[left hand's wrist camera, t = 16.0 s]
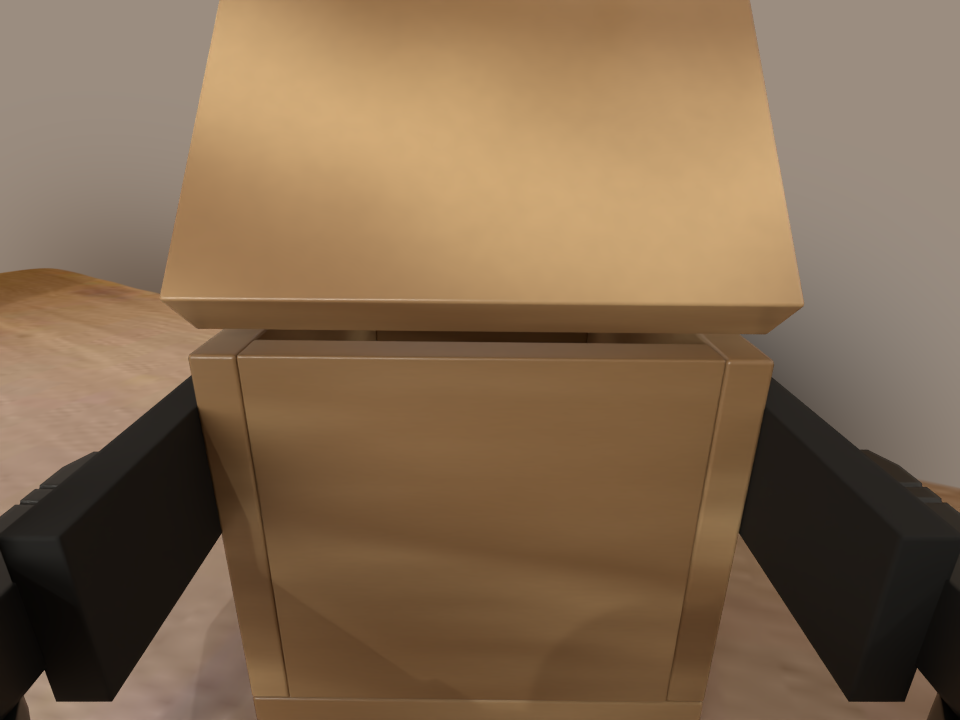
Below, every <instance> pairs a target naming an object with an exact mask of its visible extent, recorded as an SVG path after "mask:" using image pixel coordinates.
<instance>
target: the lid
mask: <svg viewBox="0 0 960 720" xmlns="http://www.w3.org/2000/svg"><path fill="white" fill-rule="evenodd" d="M160 300H161V301H162V302H163V303H165V304H166V305H167V306H169V307H170V308H171V309H172V310H174V311H175V312H176V313H178V314H179V315H180V316H181V317H183V318H184V319H185V320H187V321H188V322H189V323H190V324H192V325H193V326H194V327H196V328H198V329H280V330H381V331H482V332H584V333H685V334H767V333H769V332H770V331H771V330H773V329H774V328H775V327H777V326H778V325H779V324H781V323H782V322H783V321H785V320H786V319H787V318H789V317H790V316H791V315H793V314H794V313H795V312H797V311H798V310H799V309H801V308H802V307H803V306H804V300H803V294H802V288H801V283H800V277H799V272H798V266H797V261H796V255H795V249H794V244H793V238H792V233H791V227H790V222H789V216H788V210H787V205H786V199H785V194H784V188H783V183H782V177H781V171H780V166H779V160H778V155H777V149H776V144H775V138H774V132H773V127H772V121H771V116H770V110H769V105H768V99H767V93H766V88H765V82H764V77H763V71H762V66H761V60H760V54H759V49H758V43H757V38H756V32H755V27H754V21H753V16H752V10H751V4H750V0H219V5H218V10H217V15H216V20H215V25H214V30H213V35H212V40H211V45H210V50H209V55H208V60H207V65H206V70H205V75H204V80H203V85H202V90H201V95H200V100H199V105H198V110H197V115H196V120H195V125H194V130H193V135H192V140H191V145H190V149H189V154H188V160H187V164H186V169H185V174H184V179H183V184H182V189H181V194H180V199H179V204H178V209H177V214H176V219H175V224H174V229H173V234H172V239H171V244H170V249H169V254H168V259H167V264H166V269H165V274H164V279H163V284H162V289H161V294H160Z"/></svg>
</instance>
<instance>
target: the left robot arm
mask: <svg viewBox="0 0 960 720" xmlns="http://www.w3.org/2000/svg"><path fill="white" fill-rule="evenodd" d="M221 533H222V530H221V525H220V519H219V514H218V509H217V504H216V499H215V494H214V489H213V484H212V479H211V474H210V469H209V464H208V459H207V454H206V448H205V443H204V438H203V433H202V427H201V422H200V417H199V412H198V406H197V401H196V396H195V391H194V385H193V380H192V375H191V376H190V377H189V378H188V379H186V380H185V381H184V382H183V383H181V384H180V385H179V386H178V387H177V388H175V389H174V390H173V391H172V392H171V393H169V394H168V395H167V396H166V397H165V398H163V399H162V400H161V401H160V402H158V403H157V404H156V405H155V406H154V407H152V408H151V409H150V410H149V411H148V412H146V413H145V414H144V415H143V416H142V417H140V418H139V419H138V420H137V421H135V422H134V423H133V424H132V425H131V426H129V427H128V428H127V429H126V430H125V431H123V432H122V433H121V434H120V435H119V436H117V437H116V438H115V439H114V440H112V441H111V442H110V443H109V444H108V445H106V446H105V447H104V448H103V449H102V450H100V451H99V452H92V453H90V454H88V455H86V456H84V457H82V458H80V459H78V460H76V461H74V462H72V463H70V464H68V465H66V466H64V467H62V468H61V469H60V470H59V471H57V472H56V473H55V474H54V475H52V476H51V477H50V478H48V479H47V480H46V481H45V482H43V483H42V484H41V485H40V488H39V489H35V490H33V491H32V492H31V493H30V494H28V495H27V496H26V497H24V498H23V499H22V500H21V501H20V505H14V506H13V507H12V508H11V509H9V510H8V511H7V512H5V513H4V514H3V515H2V516H0V720H30V715H29V709H28V705H27V703H26V700H25V698H24V694H25V693H26V692H27V691H28V689H29V688H30V687H31V686H32V685H33V683H34V682H35V681H36V680H37V678H38V677H39V676H40V675H41V674H42V672H43V671H44V670H45V672H46V675H47V678H48V680H49V683H50V686H51V689H52V691H53V694H54V697H55V699H56V702H112V701H113V699H114V698H115V696H116V695H117V693H118V691H119V690H120V688H121V687H122V685H123V684H124V682H125V681H126V679H127V678H128V676H129V675H130V673H131V671H132V670H133V668H134V667H135V665H136V664H137V662H138V661H139V659H140V658H141V656H142V655H143V653H144V652H145V650H146V648H147V647H148V645H149V644H150V642H151V641H152V639H153V638H154V636H155V635H156V633H157V632H158V630H159V629H160V627H161V625H162V624H163V622H164V621H165V619H166V618H167V616H168V615H169V613H170V612H171V610H172V609H173V607H174V606H175V604H176V602H177V601H178V599H179V598H180V596H181V595H182V593H183V592H184V590H185V589H186V587H187V586H188V584H189V582H190V581H191V579H192V578H193V576H194V575H195V573H196V572H197V570H198V569H199V567H200V566H201V564H202V563H203V561H204V559H205V558H206V556H207V555H208V553H209V552H210V550H211V549H212V547H213V546H214V544H215V543H216V541H217V540H218V538H219V536H220V535H221ZM739 534H740V535H741V537H742V538H743V540H744V541H745V543H746V545H747V546H748V548H749V549H750V551H751V552H752V554H753V555H754V557H755V558H756V560H757V561H758V563H759V565H760V566H761V568H762V569H763V571H764V572H765V574H766V575H767V577H768V578H769V580H770V581H771V583H772V584H773V586H774V588H775V589H776V591H777V592H778V594H779V595H780V597H781V598H782V600H783V601H784V603H785V604H786V606H787V607H788V609H789V611H790V612H791V614H792V615H793V617H794V618H795V620H796V621H797V623H798V624H799V626H800V627H801V629H802V630H803V632H804V634H805V635H806V637H807V638H808V640H809V641H810V643H811V644H812V646H813V647H814V649H815V650H816V652H817V653H818V655H819V657H820V658H821V660H822V661H823V663H824V664H825V666H826V667H827V669H828V670H829V672H830V673H831V675H832V677H833V678H834V680H835V681H836V683H837V684H838V686H839V687H840V689H841V690H842V692H843V693H844V695H845V696H846V698H847V700H848V701H849V702H905V699H906V696H907V694H908V691H909V688H910V686H911V683H912V680H913V678H914V675H915V672H916V669H917V668H918V669H919V670H920V672H921V673H922V674H923V675H924V677H925V678H926V679H927V680H928V681H929V683H930V684H931V685H932V686H933V688H934V689H935V690H936V691H937V692H938V693H937V695H936V698H935V700H934V703H933V705H932V708H931V710H930V713H929V715H928V718H927V720H960V513H959V512H958V511H957V510H955V509H954V508H953V507H951V506H950V505H949V504H948V503H942V501H941V498H940V497H939V496H937V495H936V494H935V493H934V492H932V491H931V490H930V489H929V488H927V487H922V483H921V482H920V481H918V480H917V479H916V478H914V477H913V476H912V475H911V474H909V473H908V472H907V471H906V470H904V469H903V468H902V467H900V466H899V465H897V464H895V463H893V462H891V461H889V460H887V459H885V458H883V457H881V456H879V455H877V454H875V453H873V452H871V451H869V450H859V449H858V448H857V447H856V446H854V445H853V444H852V443H851V442H849V441H848V440H847V439H846V438H845V437H843V436H842V435H841V434H840V433H838V432H837V431H836V430H835V429H834V428H833V427H831V426H830V425H829V424H828V423H827V422H825V421H824V420H823V419H822V418H820V417H819V416H818V415H817V414H816V413H814V412H813V411H812V410H811V409H810V408H808V407H807V406H806V405H805V404H804V403H802V402H801V401H800V400H799V399H797V398H796V397H795V396H794V395H793V394H791V393H790V392H789V391H788V390H787V389H785V388H784V387H783V386H782V385H781V384H779V383H778V382H777V381H776V380H774V379H773V378H772V377H771V381H770V386H769V391H768V396H767V400H766V405H765V410H764V415H763V419H762V424H761V429H760V434H759V438H758V443H757V448H756V453H755V457H754V462H753V467H752V472H751V477H750V481H749V486H748V491H747V496H746V500H745V505H744V510H743V515H742V519H741V524H740V529H739Z"/></svg>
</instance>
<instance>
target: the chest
mask: <svg viewBox="0 0 960 720" xmlns="http://www.w3.org/2000/svg"><path fill="white" fill-rule="evenodd" d="M188 359H189V364H190V370H191V375H192V380H193V385H194V391H195V396H196V401H197V406H198V412H199V417H200V422H201V427H202V433H203V438H204V443H205V448H206V454H207V459H208V464H209V469H210V474H211V479H212V484H213V489H214V494H215V499H216V504H217V509H218V514H219V519H220V525H221V530H222V538H223V543H224V548H225V554H226V559H227V564H228V569H229V575H230V580H231V585H232V590H233V596H234V601H235V606H236V611H237V617H238V622H239V627H240V632H241V638H242V643H243V648H244V653H245V659H246V664H247V669H248V674H249V680H250V685H251V690H252V695H253V696H254V697H253V699H254V705H255V710H256V715H257V720H699V719H700V715H701V710H702V705H703V702H702V701H703V700H704V695H705V691H706V686H707V681H708V676H709V672H710V667H711V662H712V657H713V653H714V648H715V643H716V638H717V634H718V629H719V624H720V619H721V615H722V610H723V605H724V600H725V596H726V591H727V586H728V581H729V576H730V572H731V567H732V562H733V557H734V553H735V548H736V543H737V538H738V534H739V529H740V524H741V519H742V515H743V510H744V505H745V500H746V496H747V491H748V486H749V481H750V477H751V472H752V467H753V462H754V457H755V453H756V448H757V443H758V438H759V434H760V429H761V424H762V419H763V415H764V410H765V405H766V400H767V396H768V391H769V386H770V381H771V377H772V372H773V367H774V362H773V360H772V359H770V358H769V357H768V356H767V355H765V354H764V353H763V352H761V351H760V350H759V349H758V348H756V347H755V346H754V345H753V344H751V343H750V342H749V341H747V340H746V339H745V338H744V337H742V336H741V335H740V334H685V333H584V332H482V331H381V330H280V329H223V330H222V331H220V332H219V333H218V334H216V335H215V336H214V337H212V338H211V339H210V340H208V341H207V342H206V343H204V344H203V345H202V346H200V347H199V348H198V349H196V350H195V351H194V352H192V353H191V354H190V355H189V358H188Z"/></svg>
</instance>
